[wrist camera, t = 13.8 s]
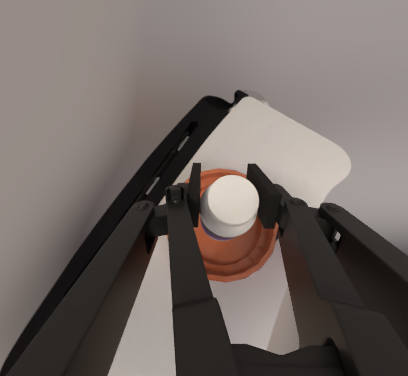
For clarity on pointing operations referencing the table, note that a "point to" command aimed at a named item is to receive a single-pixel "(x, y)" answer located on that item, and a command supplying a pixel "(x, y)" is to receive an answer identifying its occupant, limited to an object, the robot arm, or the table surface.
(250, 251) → the bowl
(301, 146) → the table surface
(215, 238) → the pill bottle
